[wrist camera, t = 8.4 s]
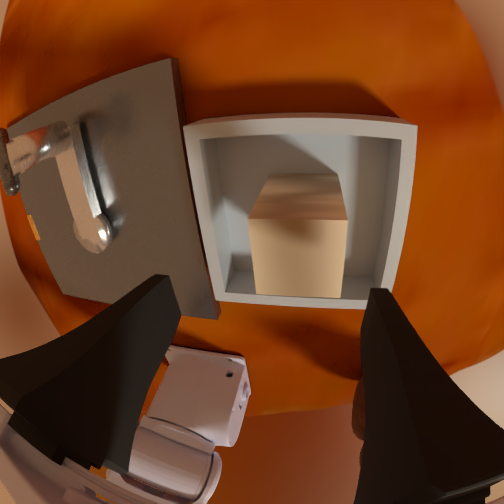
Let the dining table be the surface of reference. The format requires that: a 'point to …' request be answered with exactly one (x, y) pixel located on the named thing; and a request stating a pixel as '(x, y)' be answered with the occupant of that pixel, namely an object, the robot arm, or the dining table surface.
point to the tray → (304, 162)
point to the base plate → (124, 191)
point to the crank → (71, 171)
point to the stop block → (299, 236)
